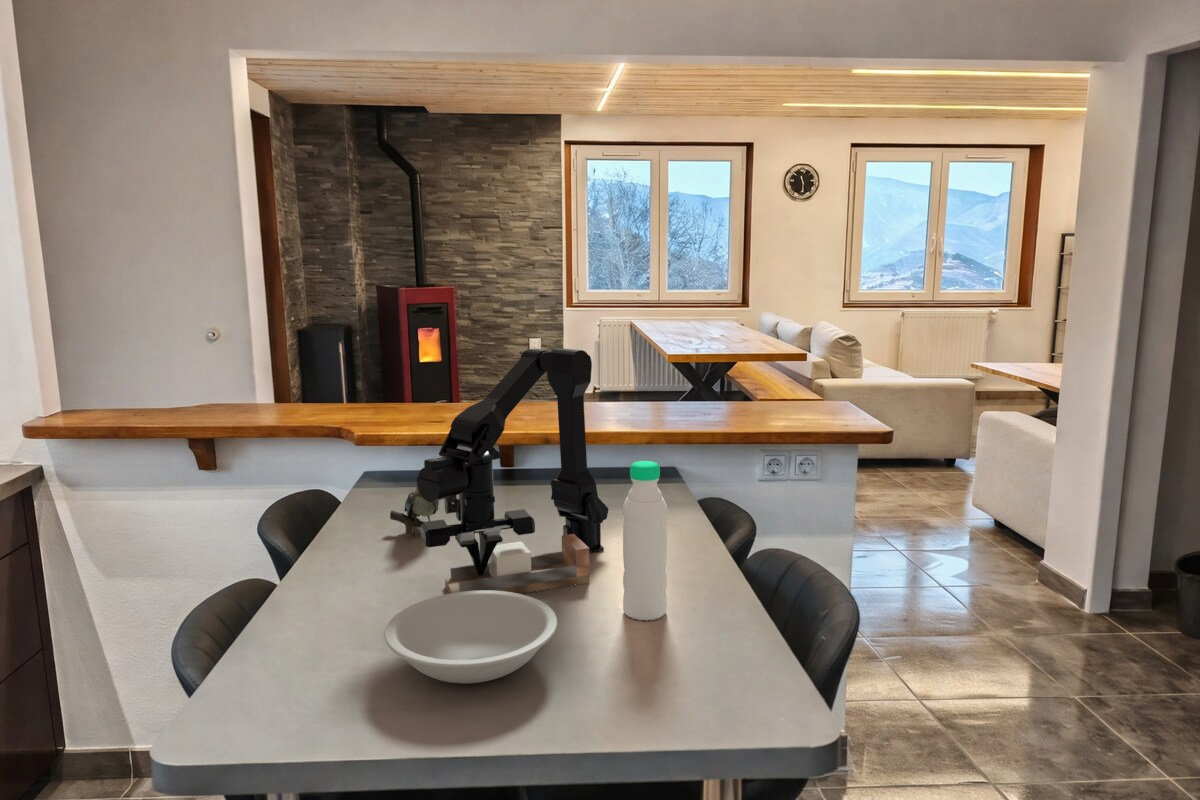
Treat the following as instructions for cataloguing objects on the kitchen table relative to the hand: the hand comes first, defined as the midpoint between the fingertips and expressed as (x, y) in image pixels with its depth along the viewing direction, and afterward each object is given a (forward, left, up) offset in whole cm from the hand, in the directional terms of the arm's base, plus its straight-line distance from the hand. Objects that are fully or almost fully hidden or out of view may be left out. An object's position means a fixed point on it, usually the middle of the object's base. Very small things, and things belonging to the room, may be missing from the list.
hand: (480, 574), depth 148 cm
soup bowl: (+7, +26, -3) cm, 27 cm away
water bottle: (-23, +19, -3) cm, 30 cm away
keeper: (-5, 0, -1) cm, 5 cm away
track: (-7, 0, -3) cm, 7 cm away
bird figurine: (+6, -35, -3) cm, 35 cm away
